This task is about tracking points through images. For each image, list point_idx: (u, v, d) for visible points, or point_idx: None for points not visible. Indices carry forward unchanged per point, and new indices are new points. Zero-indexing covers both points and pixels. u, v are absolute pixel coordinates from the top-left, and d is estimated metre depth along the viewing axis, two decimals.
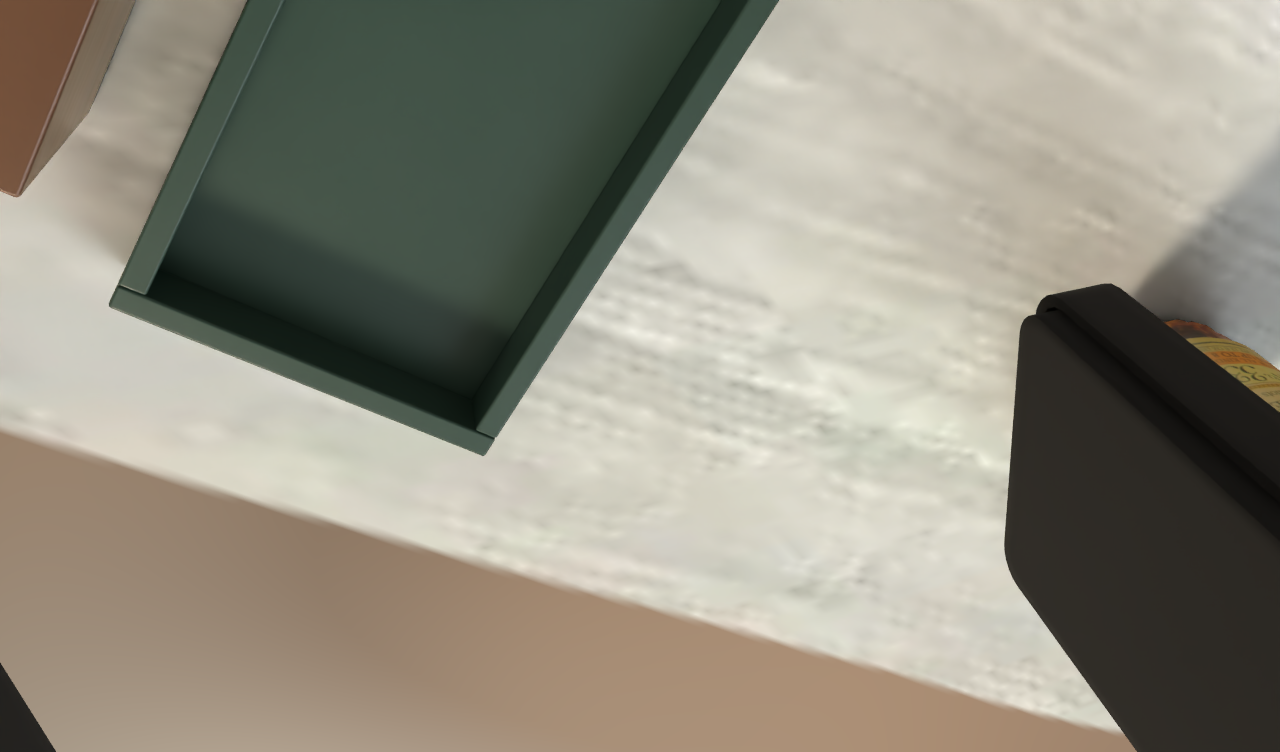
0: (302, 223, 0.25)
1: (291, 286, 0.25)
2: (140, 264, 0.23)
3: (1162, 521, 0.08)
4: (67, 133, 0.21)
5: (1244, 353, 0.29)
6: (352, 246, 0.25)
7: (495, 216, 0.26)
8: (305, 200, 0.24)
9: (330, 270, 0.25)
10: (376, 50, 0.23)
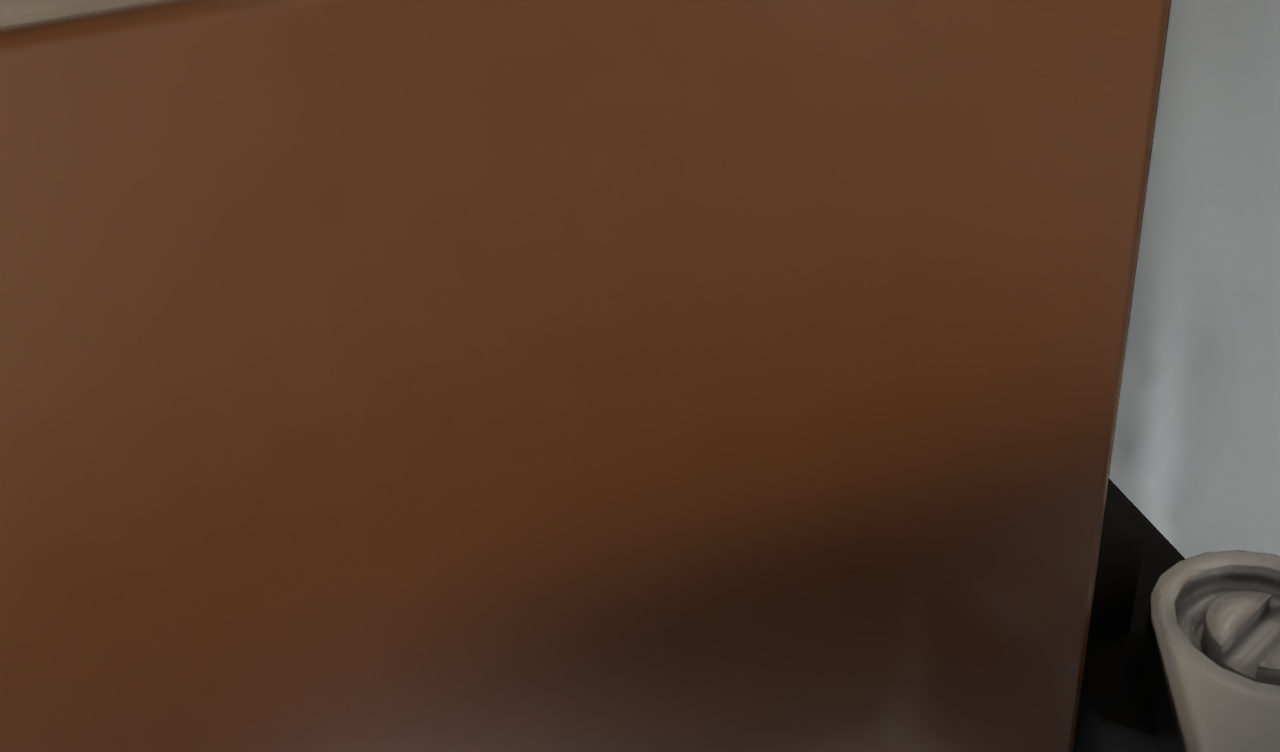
0: None
1: None
2: None
3: None
4: None
5: None
6: None
7: None
8: None
9: None
10: None
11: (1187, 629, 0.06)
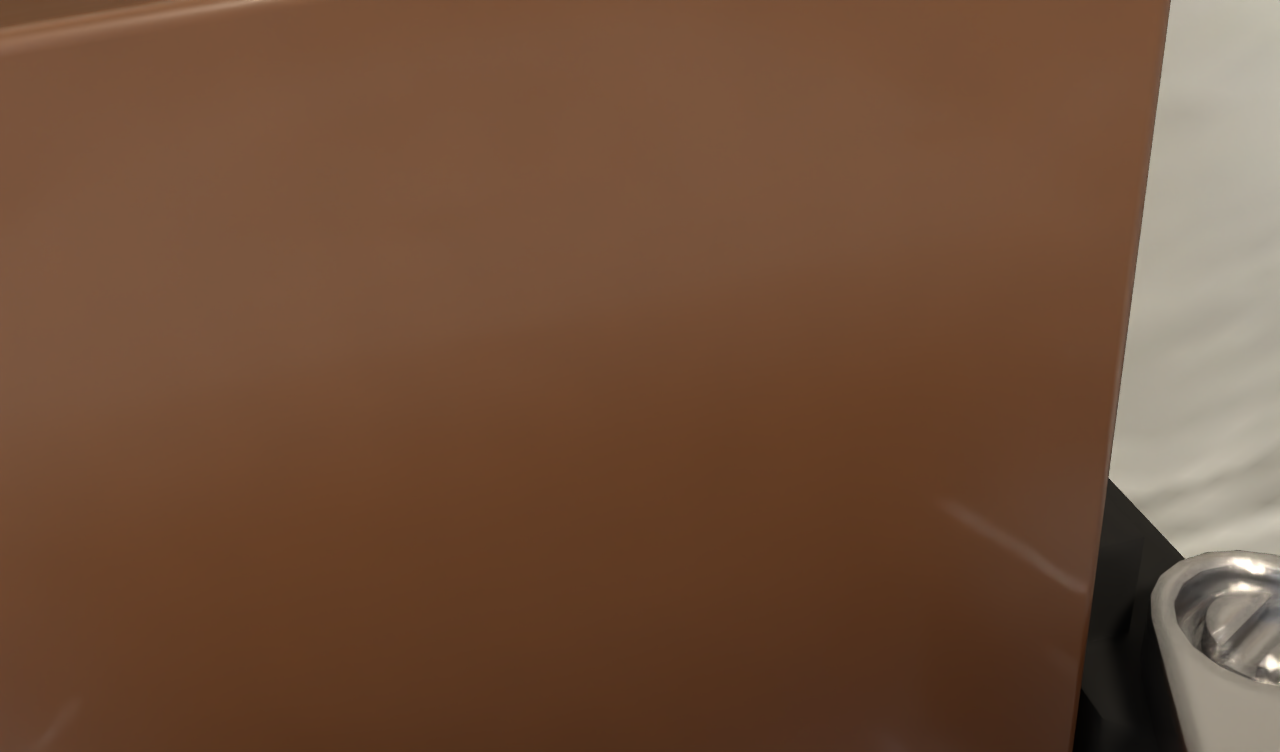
0: None
1: None
2: None
3: None
4: None
5: None
6: None
7: None
8: None
9: None
10: None
11: (1187, 629, 0.06)
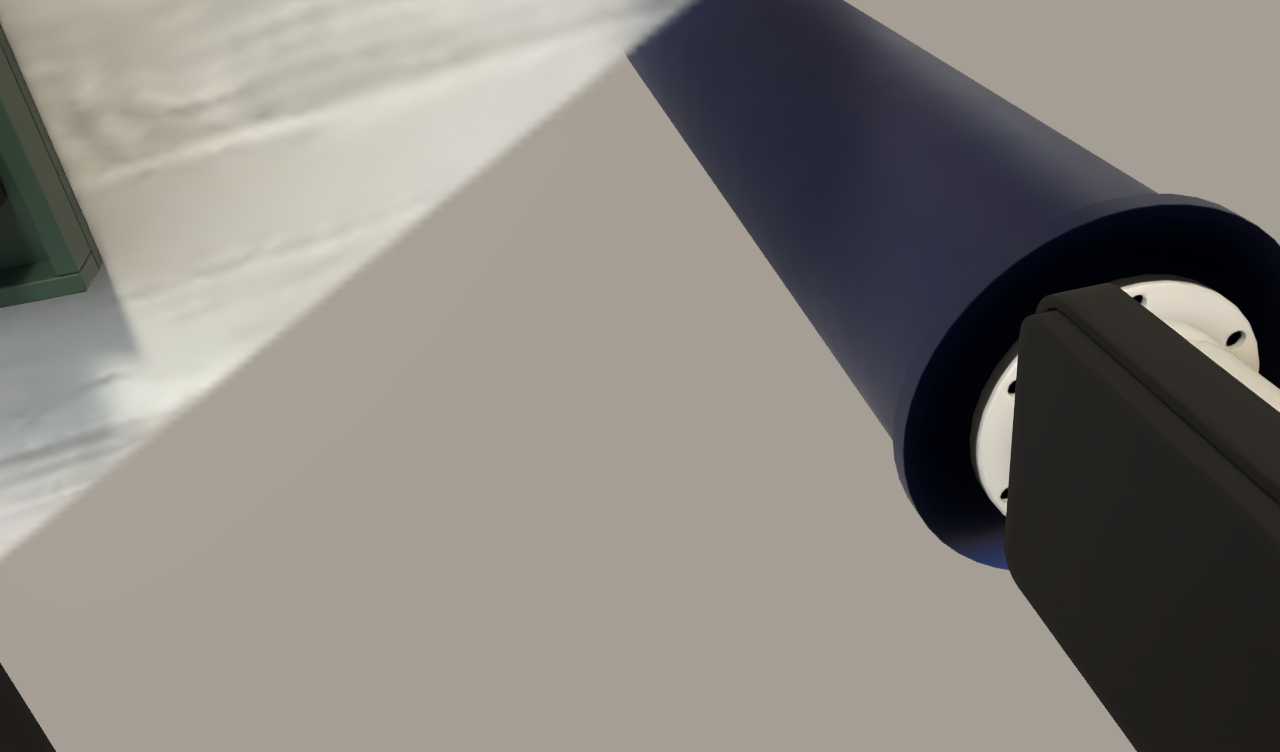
0: None
1: None
2: None
3: (1162, 521, 0.08)
4: None
5: None
6: None
7: None
8: None
9: None
10: None
11: None
